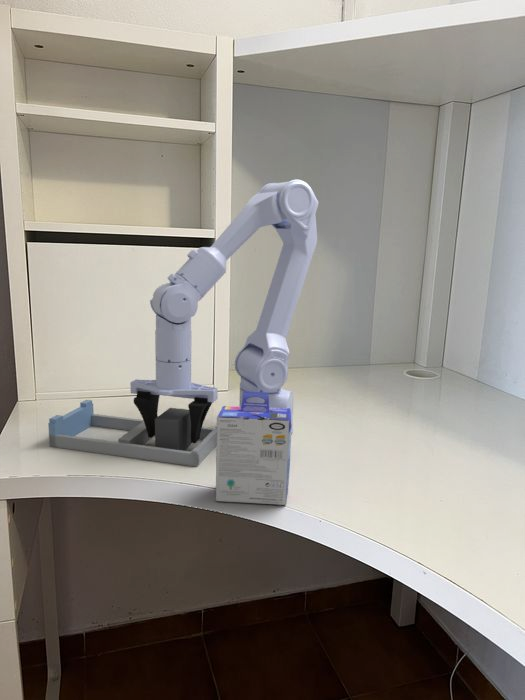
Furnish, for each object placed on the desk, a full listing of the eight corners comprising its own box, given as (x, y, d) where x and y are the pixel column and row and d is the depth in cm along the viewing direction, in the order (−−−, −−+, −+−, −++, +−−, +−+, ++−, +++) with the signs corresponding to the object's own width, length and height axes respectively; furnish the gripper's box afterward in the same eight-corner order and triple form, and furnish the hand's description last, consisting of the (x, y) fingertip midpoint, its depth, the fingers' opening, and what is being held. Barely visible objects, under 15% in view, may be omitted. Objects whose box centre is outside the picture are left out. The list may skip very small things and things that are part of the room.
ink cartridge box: (288, 488, 79) (293, 391, 76) (288, 506, 73) (292, 403, 70) (220, 484, 79) (221, 387, 76) (214, 502, 74) (215, 399, 71)
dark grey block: (192, 443, 94) (192, 410, 93) (178, 456, 88) (178, 421, 87) (170, 440, 95) (170, 407, 94) (155, 453, 89) (154, 418, 88)
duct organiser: (221, 440, 96) (221, 414, 95) (196, 466, 85) (197, 438, 84) (88, 423, 102) (87, 399, 101) (49, 446, 91) (48, 419, 90)
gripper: (120, 360, 86) (122, 441, 89) (207, 368, 83) (206, 452, 86) (141, 351, 93) (142, 426, 96) (222, 358, 90) (221, 437, 92)
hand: (173, 438), depth 91 cm, fingers open, 7 cm apart
